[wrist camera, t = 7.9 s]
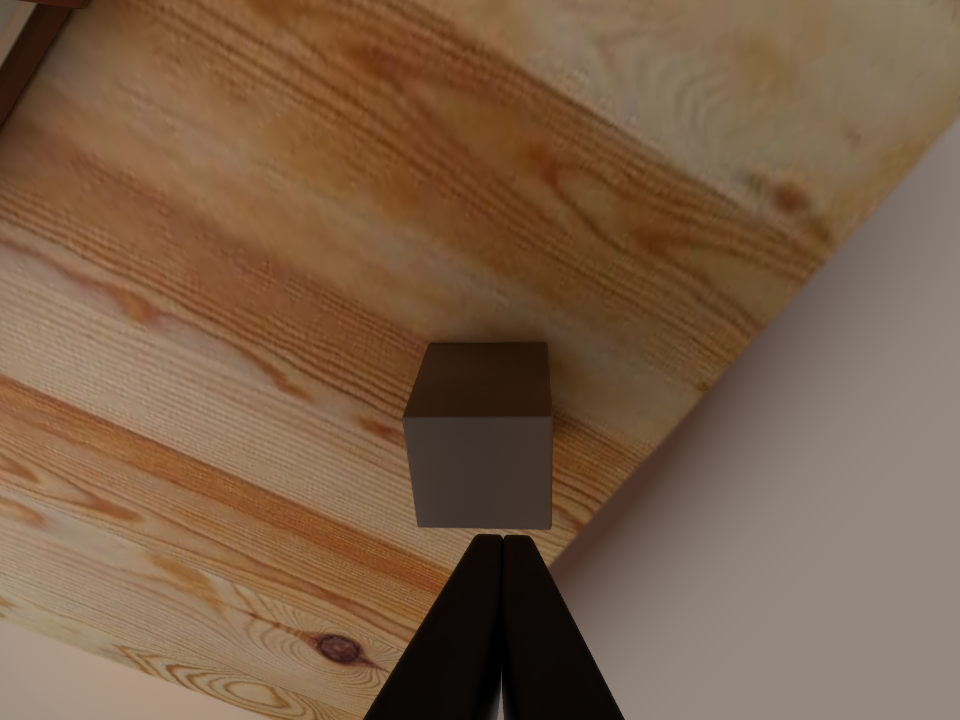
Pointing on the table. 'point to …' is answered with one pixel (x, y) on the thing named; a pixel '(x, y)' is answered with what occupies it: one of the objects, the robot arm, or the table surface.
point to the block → (481, 436)
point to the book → (26, 41)
